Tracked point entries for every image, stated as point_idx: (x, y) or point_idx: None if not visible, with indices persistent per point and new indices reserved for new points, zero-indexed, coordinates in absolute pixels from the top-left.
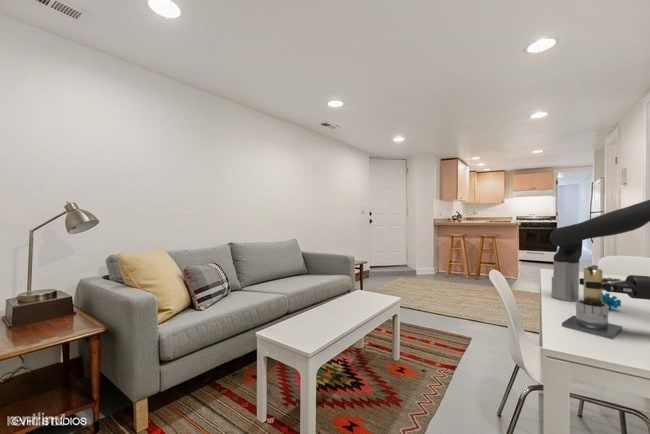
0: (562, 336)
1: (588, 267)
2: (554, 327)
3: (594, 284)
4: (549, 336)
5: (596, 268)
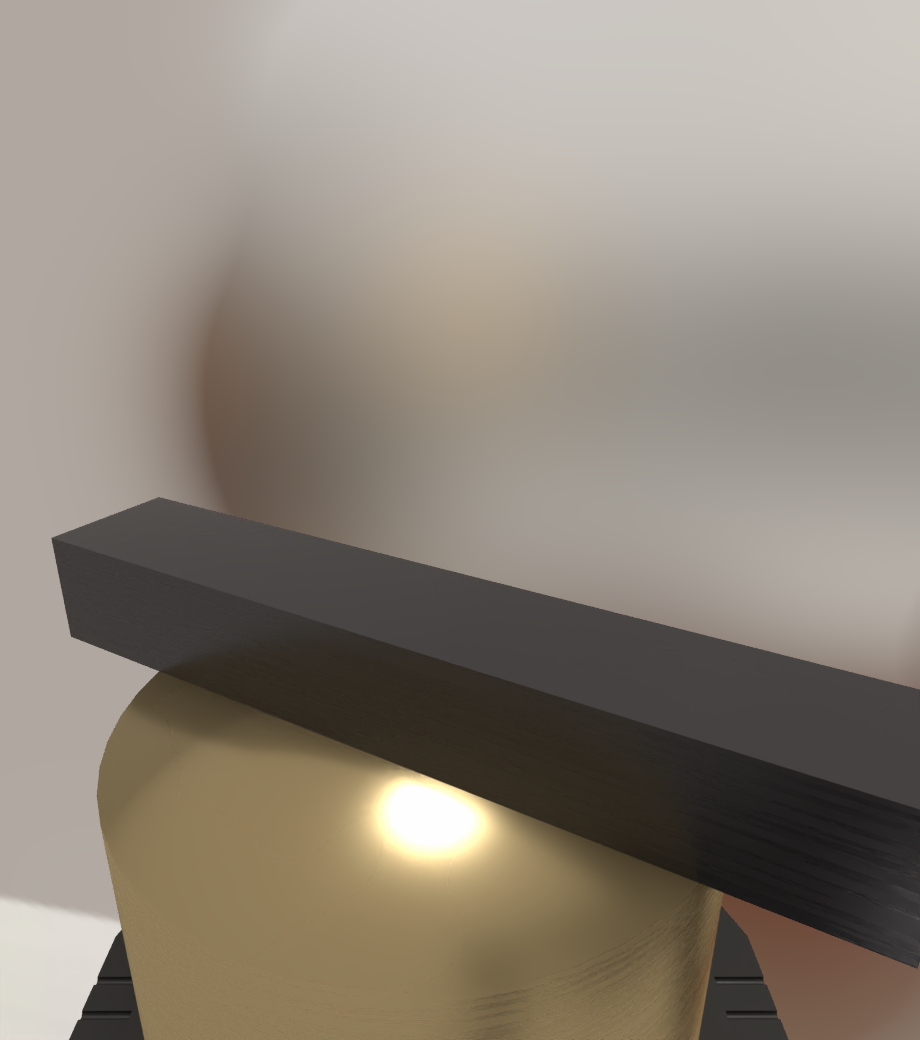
0: (23, 1035)
1: (138, 507)
2: None
3: (85, 1015)
4: (26, 929)
5: (599, 819)
